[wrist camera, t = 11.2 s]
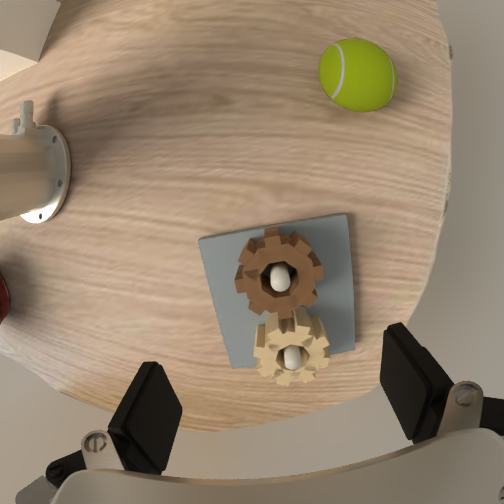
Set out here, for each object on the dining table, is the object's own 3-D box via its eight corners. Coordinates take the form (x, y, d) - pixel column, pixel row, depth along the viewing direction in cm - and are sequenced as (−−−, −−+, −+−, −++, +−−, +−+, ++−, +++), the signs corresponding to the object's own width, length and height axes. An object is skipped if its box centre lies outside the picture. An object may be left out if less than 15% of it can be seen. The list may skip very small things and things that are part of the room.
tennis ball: (314, 115, 23) (330, 94, 16) (311, 53, 21) (323, 19, 14) (382, 122, 23) (415, 108, 16) (376, 62, 21) (403, 35, 14)
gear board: (200, 237, 27) (182, 254, 21) (343, 213, 25) (363, 223, 19) (233, 362, 30) (226, 397, 24) (352, 343, 29) (366, 376, 23)
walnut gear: (232, 234, 25) (226, 244, 21) (309, 221, 24) (317, 228, 20) (247, 304, 27) (244, 324, 23) (319, 292, 26) (327, 311, 22)
